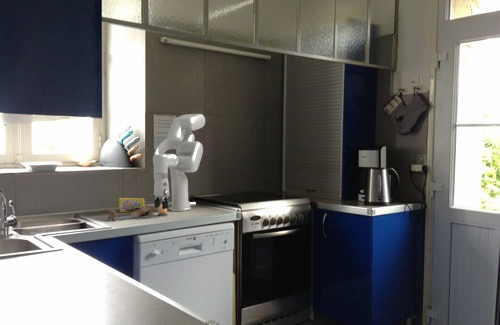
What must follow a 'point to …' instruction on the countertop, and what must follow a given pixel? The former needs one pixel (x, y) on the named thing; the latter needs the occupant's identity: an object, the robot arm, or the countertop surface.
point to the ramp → (144, 210)
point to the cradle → (162, 214)
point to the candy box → (130, 204)
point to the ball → (161, 210)
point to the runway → (126, 216)
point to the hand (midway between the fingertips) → (161, 208)
